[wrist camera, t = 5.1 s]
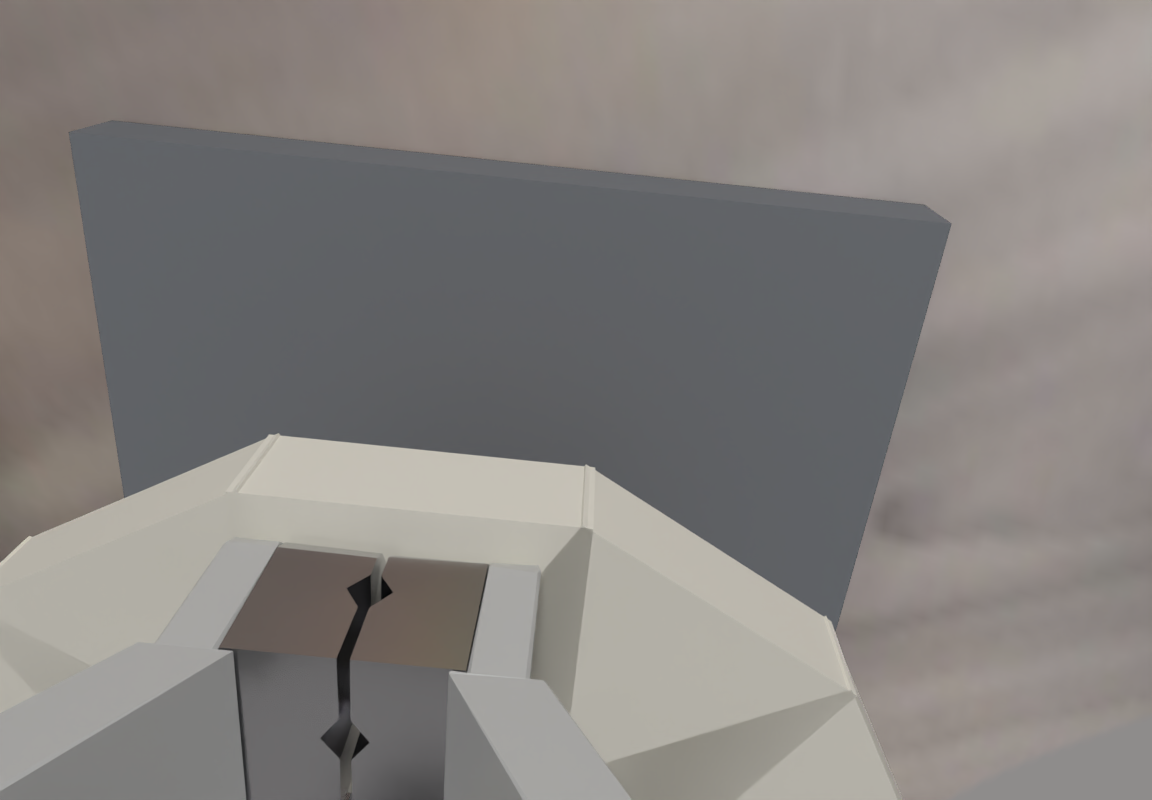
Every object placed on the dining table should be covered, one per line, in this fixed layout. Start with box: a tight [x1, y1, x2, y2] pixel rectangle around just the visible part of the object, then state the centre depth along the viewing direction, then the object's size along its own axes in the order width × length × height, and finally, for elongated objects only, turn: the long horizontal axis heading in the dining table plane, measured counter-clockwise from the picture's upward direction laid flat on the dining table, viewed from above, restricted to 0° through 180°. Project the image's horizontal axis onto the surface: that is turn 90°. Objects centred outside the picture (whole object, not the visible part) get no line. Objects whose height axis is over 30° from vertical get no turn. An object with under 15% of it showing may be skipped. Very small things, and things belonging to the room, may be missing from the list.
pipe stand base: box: [69, 121, 951, 631], centre depth 20 cm, size 16×16×2 cm
